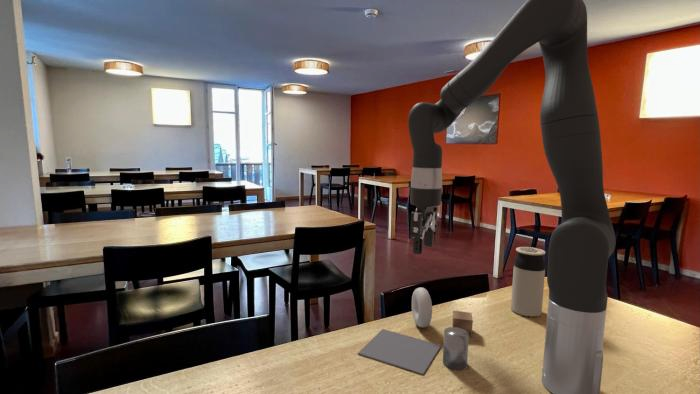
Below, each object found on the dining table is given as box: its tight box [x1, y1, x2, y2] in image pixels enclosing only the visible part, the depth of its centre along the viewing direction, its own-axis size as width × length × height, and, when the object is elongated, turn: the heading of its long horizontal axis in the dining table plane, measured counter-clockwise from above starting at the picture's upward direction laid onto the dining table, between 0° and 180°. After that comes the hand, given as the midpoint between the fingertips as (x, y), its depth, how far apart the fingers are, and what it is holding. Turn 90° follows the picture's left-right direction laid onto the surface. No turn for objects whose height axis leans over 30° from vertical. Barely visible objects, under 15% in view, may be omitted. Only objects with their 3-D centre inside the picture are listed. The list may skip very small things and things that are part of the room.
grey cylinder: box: [442, 326, 470, 372], centre depth 78 cm, size 5×5×7 cm
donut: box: [411, 287, 433, 328], centre depth 95 cm, size 10×4×10 cm, turn 5°
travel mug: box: [510, 246, 546, 318], centre depth 104 cm, size 8×8×18 cm
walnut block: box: [451, 310, 474, 339], centre depth 92 cm, size 4×4×4 cm
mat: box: [357, 328, 442, 376], centre depth 84 cm, size 15×13×1 cm
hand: (423, 249), depth 93 cm, fingers open, 8 cm apart
